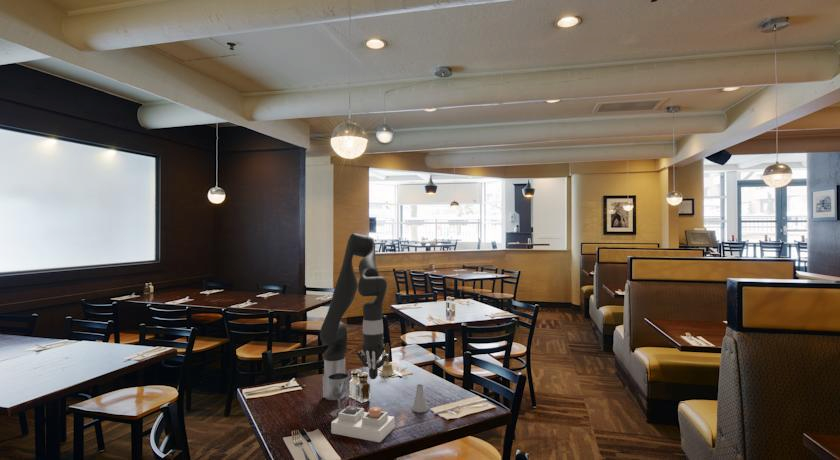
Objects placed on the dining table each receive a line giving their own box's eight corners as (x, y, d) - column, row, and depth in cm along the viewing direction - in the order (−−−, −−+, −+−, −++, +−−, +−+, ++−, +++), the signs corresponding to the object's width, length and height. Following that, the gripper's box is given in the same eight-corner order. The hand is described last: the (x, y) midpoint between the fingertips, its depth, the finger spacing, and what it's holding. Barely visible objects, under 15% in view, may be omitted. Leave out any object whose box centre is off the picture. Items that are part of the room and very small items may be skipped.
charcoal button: (343, 418, 160) (343, 410, 160) (349, 413, 164) (349, 405, 164) (353, 419, 158) (353, 411, 158) (359, 415, 162) (359, 407, 162)
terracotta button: (366, 419, 156) (366, 410, 156) (372, 414, 160) (372, 406, 160) (377, 420, 154) (377, 412, 154) (383, 415, 158) (383, 407, 158)
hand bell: (397, 371, 223) (396, 341, 223) (393, 377, 215) (392, 345, 215) (381, 371, 225) (381, 340, 225) (377, 376, 216) (376, 345, 216)
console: (331, 433, 157) (331, 415, 157) (348, 419, 168) (348, 402, 168) (379, 442, 150) (379, 423, 150) (394, 427, 161) (394, 410, 161)
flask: (427, 413, 172) (426, 389, 172) (409, 412, 173) (409, 388, 173) (430, 406, 179) (429, 382, 179) (413, 405, 180) (413, 381, 180)
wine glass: (352, 409, 177) (351, 373, 177) (343, 418, 170) (342, 380, 169) (335, 407, 180) (334, 372, 180) (325, 415, 172) (324, 378, 172)
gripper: (351, 332, 156) (352, 379, 156) (384, 335, 151) (384, 384, 151) (362, 327, 163) (362, 373, 163) (393, 330, 158) (394, 377, 158)
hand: (373, 378), depth 157 cm, fingers closed
